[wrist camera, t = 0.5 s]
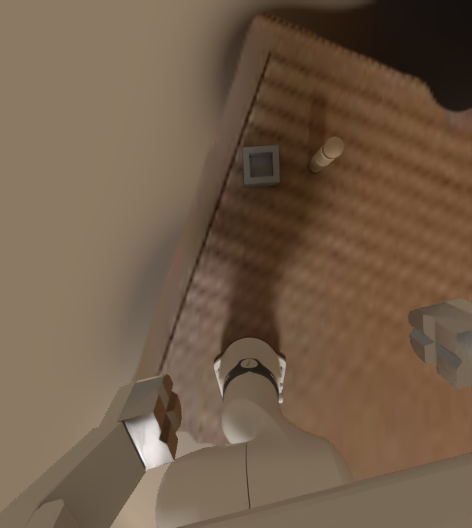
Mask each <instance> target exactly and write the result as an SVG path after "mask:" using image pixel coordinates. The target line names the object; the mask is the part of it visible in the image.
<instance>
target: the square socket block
mask: <svg viewBox="0 0 472 528" xmlns="http://www.w3.org/2000/svg"><path fill="white" fill-rule="evenodd" d="M243 167H244V186H245V187H260V186H275V185H278V184H279V183H280V168H279V145H268V146H254V147H243Z"/></svg>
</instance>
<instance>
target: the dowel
mask: <svg viewBox="0 0 472 528" xmlns="http://www.w3.org/2000/svg"><path fill="white" fill-rule="evenodd" d="M343 149H344V143H343V141H342V140H341V139H340V138H339V137H331V138H329V139H328V140H327V141H326V142H325V143H324V144H323V146H322V147H321V148H320V149H319V150H318V151H317V152H316V154H315V155H314V156H313V157H312V158H311V159H310V161H309V162H308V170H309V171H310V172H311V173H318V172H320V171H321V170H322V169H324V168H325V167H326V166H327V165H328V164H329V163H331V162H332V161H333V160H334V159H335V158H337V157H338V156H339V155H340V154H341V153H342V152H343Z"/></svg>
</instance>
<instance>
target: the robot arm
mask: <svg viewBox="0 0 472 528" xmlns="http://www.w3.org/2000/svg"><path fill="white" fill-rule="evenodd" d="M408 322H409V324H410V325H411V326H413V327H414V328H413V329H412V331H411V333H410V334H409V335H410V344H411V346H412V348H413V350H414V352H415V353H416V354H417V356H418V357H419V358H420V359H421V360H422V361H424V362H425V363H426V364H430V365H433V366H436V368H437V373H438V374H439V375H441V376H442V377H443V378H444V379H446V380H447V381H448V382H449V383H450V384H452V385H453V386H454V387H455V388H457V389H459V388H464V387H468V386H472V303H471V302H469V301H467V300H464V299H462V298H454V299H450V300H447V301H444V302H440V303H438V304H434V305H431V306H427V307H423V308H420V309H416V310H412V311H410V312H409V315H408ZM281 367H282V368H281ZM285 368H286V361H285V359H284V358H282V357H281V356H279V355H277V354H276V353H275V352H274V350H273V349H272V348H271V347H270V346H269V345H268V344H267V343H266V342H264V341H262V340H260V339H256V338H243V339H239V340H237V341H235V342H234V343H232V344H231V345H230V346H229V347H228V348H227V350H226V351H225V353H224V354H223V356H222V357H220V358H219V359H217V360H216V361H215V362H214V369H215V373H216V376H217V380H218V384H219V387H220V391H221V394H222V398H223V410H222V417H221V423H222V429H223V432H224V434H225V436H226V438H227V439H228V440H229V442H230V443H231V444H228V445H221V446H214V447H206V448H202V449H200V450H197V451H194V452H191V453H189V454H187V455H185V456H182V457H180V458H178V459H175V454H176V449H177V443H178V438H177V436H176V434H175V433H176V431H177V430H178V429H179V428H180V425H181V419H182V416H181V405H180V400H179V398H178V395H177V394H175V393H174V392H172V386H173V382H172V380H171V378H170V376H169V375H168V374H164V375H160V376H156V377H151V378H147V379H143V380H139V381H135V382H131V383H127V384H124V385H122V386H120V388H119V390H118V391H117V393H116V395H115V397H114V399H113V401H112V403H111V405H110V407H109V408H108V410H107V412H106V414H105V416H104V418H103V420H102V422H101V424H100V425H99V427H97V428H94V429H92V430H91V431H90V432H89V433H88V434H87V435H86V436H85V437H84V438H82V439H81V440H80V441H79V442H78V443H77V444H76V445H75V446H74V447H72V448H71V449H70V450H69V451H68V452H67V453H66V454H65V455H64V456H62V458H60V459H59V460H58V461H57V462H56V463H55V464H54V465H53V466H51V467H50V468H49V469H48V470H47V471H46V472H45V473H44V474H42V476H40V477H39V478H38V479H37V480H36V481H35V482H34V483H33V484H31V485H30V486H29V487H28V488H27V489H26V490H25V491H24V492H23V493H21V494H20V495H19V496H18V497H17V498H16V499H15V500H14V501H13V502H11V503H10V504H9V505H8V506H7V507H6V508H5V509H4V510H3V511H1V512H0V528H110V526H111V525H112V523H113V522H114V520H115V519H116V517H117V515H118V514H119V512H120V511H121V509H122V508H123V506H124V505H125V503H126V502H127V500H128V498H129V497H130V495H131V494H132V492H133V491H134V489H135V488H136V486H137V485H138V483H139V482H140V480H141V478H142V477H143V475H144V474H145V472H146V471H145V470H147V469H150V468H154V467H157V466H161V465H164V464H168V463H171V462H172V463H171V464H170V466H169V467H168V469H167V470H166V472H165V474H164V476H163V478H162V480H161V483H160V486H159V489H158V494H157V499H156V508H155V512H156V513H155V514H156V515H155V516H156V525H157V528H472V452H471V453H467V454H463V455H459V456H455V457H451V458H447V459H443V460H439V461H435V462H431V463H427V464H423V465H420V466H416V467H412V468H408V469H404V470H400V471H396V472H392V473H388V474H384V475H380V476H376V477H373V478H369V479H365V480H361V481H357V482H354V480H353V477H352V474H351V471H350V469H349V467H348V465H347V463H346V461H345V459H344V458H343V456H342V455H341V453H340V452H339V451H338V450H337V448H336V447H335V446H334V445H333V444H332V443H331V442H329V441H328V440H327V439H326V438H324V437H320V436H317V435H314V434H311V433H309V432H307V431H305V430H303V429H301V428H299V427H297V426H296V425H294V424H293V423H292V422H290V421H289V420H288V419H287V418H286V417H285V416H284V415H283V413H282V411H281V408H280V405H279V403H282V402H283V394H282V393H281V392H282V389H283V380H284V374H285ZM218 369H219V370H218Z"/></svg>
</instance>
